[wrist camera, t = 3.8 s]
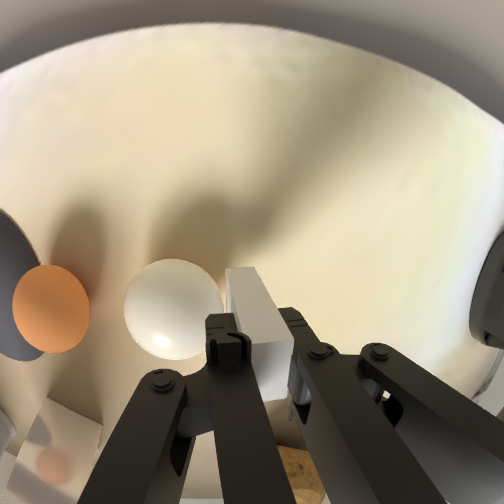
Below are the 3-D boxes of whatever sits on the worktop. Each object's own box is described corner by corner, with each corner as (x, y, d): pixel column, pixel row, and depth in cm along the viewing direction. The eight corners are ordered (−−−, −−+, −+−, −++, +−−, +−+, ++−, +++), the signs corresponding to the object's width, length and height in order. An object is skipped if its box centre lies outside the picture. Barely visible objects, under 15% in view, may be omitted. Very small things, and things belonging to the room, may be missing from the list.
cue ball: (225, 282, 11) (99, 285, 10) (229, 379, 13) (125, 379, 12) (220, 244, 16) (131, 247, 15) (222, 323, 18) (143, 324, 17)
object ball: (93, 251, 15) (51, 283, 10) (109, 327, 17) (82, 376, 11) (32, 255, 14) (-14, 283, 9) (50, 324, 16) (17, 364, 11)
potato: (297, 407, 21) (325, 475, 14) (325, 459, 26) (345, 505, 18) (202, 438, 21) (206, 507, 13) (255, 483, 25) (266, 530, 18)
